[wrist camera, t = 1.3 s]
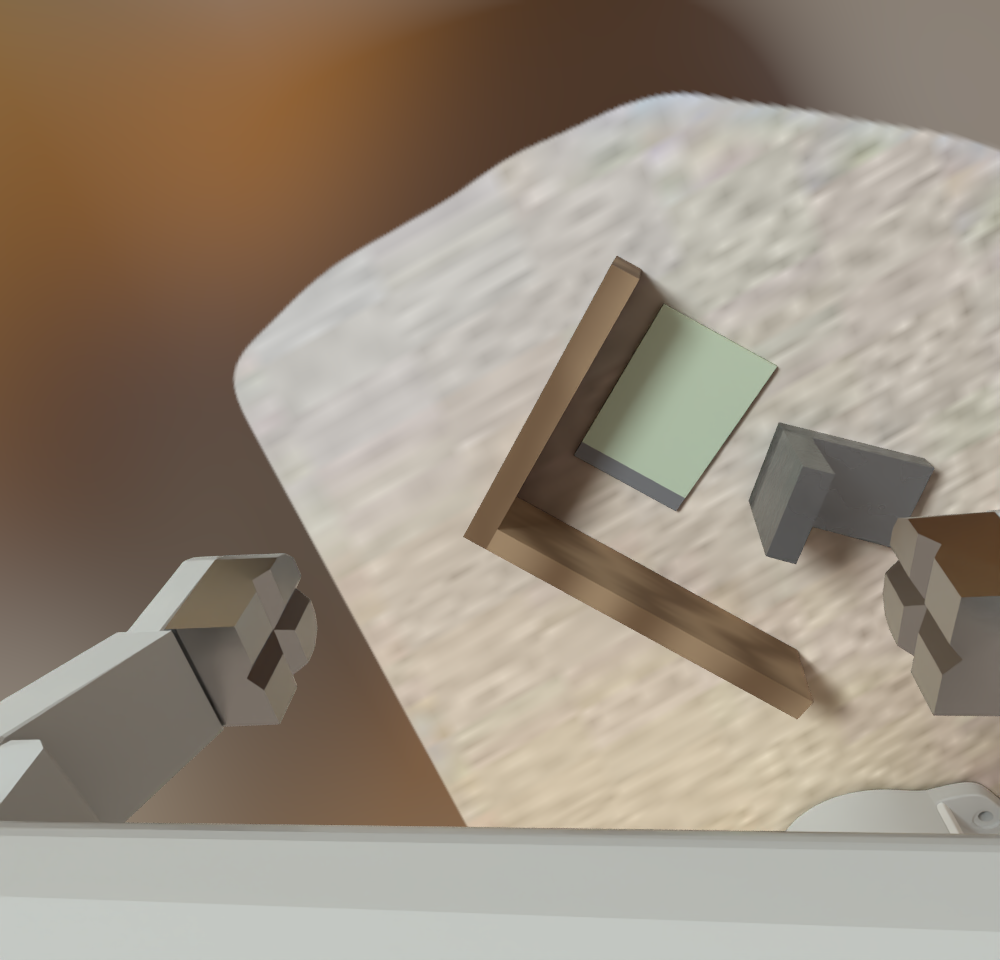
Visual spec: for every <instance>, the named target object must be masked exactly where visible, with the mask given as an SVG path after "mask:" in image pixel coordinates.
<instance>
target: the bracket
mask: <svg viewBox="0 0 1000 960" xmlns="http://www.w3.org/2000/svg"><path fill="white" fill-rule="evenodd" d="M933 470H934V467H933V466H932V465H931V464H930V463H929V462H928V461H927V460H926V459H924V458H920V457H916V456H912V455H908V454H904V453H900V452H896V451H892V450H888V449H884V448H880V447H876V446H872V445H868V444H864V443H860V442H856V441H852V440H848V439H844V438H840V437H836V436H832V435H828V434H824V433H820V432H816V431H812V430H808V429H804V428H800V427H796V426H792V425H787V424H783V423H778V426H777V429H776V431H775V434H774V436H773V439H772V442H771V444H770V447H769V449H768V452H767V455H766V457H765V460H764V462H763V465H762V468H761V470H760V473H759V475H758V478H757V480H756V483H755V486H754V488H753V491H752V493H751V496H750V499H749V503H750V506H751V510H752V513H753V516H754V519H755V522H756V526H757V529H758V532H759V535H760V539H761V542H762V545H763V548H764V552H765V555H766V556H768V557H771V558H775V559H779V560H782V561H786V562H790V563H794V564H796V563H797V561H798V558H799V556H800V554H801V552H802V549H803V547H804V545H805V542H806V540H807V538H808V535H809V533H810V531H811V529H812V527H815V528H819V529H823V530H827V531H830V532H834V533H838V534H842V535H846V536H849V537H853V538H857V539H861V540H865V541H868V542H872V543H876V544H880V545H884V546H887V547H891V546H890V541H891V536H892V530H893V527H894V525H895V523H896V521H897V519H898V518H906V517H910V516H911V514H912V512H913V510H914V508H915V506H916V504H917V502H918V500H919V498H920V496H921V494H922V492H923V490H924V488H925V486H926V484H927V482H928V480H929V478H930V476H931V474H932V472H933Z"/></svg>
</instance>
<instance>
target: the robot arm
mask: <svg viewBox="0 0 1000 960" xmlns="http://www.w3.org/2000/svg"><path fill="white" fill-rule="evenodd" d="M890 546H891V548H892V549H893V551H894V553H895V554H896V556H897V558H898V561H897V562H896V563H895V564H894V565H893V566H892V567H891V568H890V569H889V570H888V571H887V572H886V573H885V580H884V588H883V601H884V611H885V616H886V620H887V623H888V626H889V630H890V632H891V634H892V636H893V638H894V640H895V642H896V644H897V645H898V646H899V647H901V648H902V649H904V650H905V651H907V652H909V653H910V654H912V655H913V656H914V659H913V664H912V669H911V673H912V675H913V677H914V679H915V681H916V683H917V685H918V687H919V689H920V691H921V693H922V694H923V696H924V698H925V700H926V702H927V704H928V706H929V708H930V710H931V712H932V714H933V715H943V716H1000V510H991V511H987V512H981V513H966V514H951V515H936V516H921V517H906V518H898V519H897V521H896V523H895V525H894V527H893V530H892V536H891V541H890ZM300 578H301V574H300V571H299V569H298V567H297V565H296V562H295V560H294V558H293V557H291V556H289V555H287V554H284V553H283V554H257V555H230V556H229V555H228V556H223V557H222V556H210V557H194V558H191V559H188V560H186V561H184V562H183V563H182V564H181V566H180V567H179V568H178V569H177V571H176V572H175V573H174V574H173V576H172V577H171V578H170V579H169V581H168V582H167V583H166V584H165V586H164V587H163V588H162V589H161V591H160V592H159V593H158V594H157V596H156V597H155V598H154V599H153V601H152V602H151V603H150V604H149V605H148V607H147V608H146V609H145V610H144V612H143V613H142V614H141V615H140V617H139V618H138V619H137V620H136V622H135V623H134V624H133V625H132V627H131V628H130V629H129V630H128V632H120V633H116V634H114V635H112V636H111V637H109V638H107V639H106V640H104V641H102V642H100V643H99V644H97V645H96V646H94V647H92V648H90V649H89V650H87V651H85V652H84V653H82V654H80V655H79V656H77V657H75V658H73V659H72V660H70V661H68V662H67V663H65V664H63V665H62V666H60V667H58V668H57V669H55V670H53V671H51V672H50V673H48V674H46V675H45V676H43V677H41V678H40V679H38V680H37V681H35V682H33V683H31V684H29V685H28V686H26V687H24V688H23V689H21V690H19V691H18V692H16V693H14V694H13V695H11V696H9V697H8V698H6V699H4V700H2V701H1V702H0V960H1000V799H999V798H998V797H997V796H995V795H994V794H993V793H992V792H990V791H989V790H988V789H987V788H985V787H984V786H982V785H980V784H977V783H973V782H962V783H955V784H950V785H945V786H941V787H937V788H933V789H929V790H920V791H910V790H890V789H881V790H867V791H860V792H854V793H849V794H845V795H841V796H838V797H835V798H832V799H829V800H827V801H824V802H822V803H820V804H818V805H816V806H814V807H813V808H811V809H809V810H808V811H806V812H805V813H803V814H802V815H801V816H800V817H798V818H797V819H796V820H795V821H794V822H793V823H792V824H791V825H790V827H789V828H788V829H787V830H786V831H728V830H653V829H578V828H503V827H427V826H422V827H420V826H349V825H348V826H347V825H346V826H345V825H271V824H269V825H268V824H267V825H266V824H193V823H187V824H186V823H125V822H126V821H127V820H128V819H129V818H130V817H131V816H132V815H133V814H134V813H135V812H136V811H137V810H138V809H139V808H141V807H142V806H143V805H144V804H145V803H146V802H147V801H148V800H149V799H150V798H151V797H152V796H153V795H154V794H155V793H157V792H158V791H159V790H160V789H161V788H162V787H163V786H164V785H165V784H166V783H167V782H168V781H169V780H170V779H171V778H173V777H174V776H175V775H176V774H177V773H178V772H179V771H180V770H181V769H182V768H183V767H184V766H185V765H186V764H187V763H189V761H191V760H192V759H193V758H194V757H195V756H196V755H197V754H198V753H199V752H200V751H201V750H202V749H203V748H204V747H206V746H207V745H208V744H209V743H210V742H211V741H212V740H213V739H214V738H215V737H216V736H217V735H218V734H219V733H221V732H222V731H223V727H226V726H249V725H271V724H280V723H281V720H282V718H283V716H284V714H285V712H286V710H287V708H288V705H289V703H290V701H291V699H292V697H293V695H294V693H295V690H296V688H297V685H296V683H295V680H294V677H293V674H294V673H296V672H297V671H298V670H300V669H301V668H302V667H303V666H305V665H306V664H307V663H308V662H309V660H310V657H311V655H312V653H313V650H314V648H315V642H316V634H317V623H316V616H315V611H314V608H313V605H312V603H311V600H310V599H309V598H308V597H306V596H305V595H304V594H303V593H301V592H300V591H299V590H298V589H296V587H297V585H298V582H299V580H300ZM983 811H985V812H983Z"/></svg>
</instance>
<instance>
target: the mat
mask: <svg viewBox="0 0 1000 960" xmlns="http://www.w3.org/2000/svg"><path fill="white" fill-rule="evenodd" d="M776 367H777V366H776V365H775V364H773V363H771V362H769V361H767V360H766V359H764V358H762V357H760V356H758V355H756V354H755V353H753V352H751V351H749V350H747V349H745V348H744V347H742V346H740V345H738V344H736V343H735V342H733V341H731V340H729V339H727V338H725V337H724V336H722V335H720V334H718V333H716V332H714V331H713V330H711V329H709V328H707V327H705V326H704V325H702V324H700V323H698V322H696V321H694V320H693V319H691V318H689V317H687V316H685V315H683V314H682V313H680V312H678V311H676V310H674V309H673V308H671V307H669V306H667V305H665V304H663V306H662V307H661V309H660V311H659V312H658V314H657V316H656V318H655V319H654V321H653V323H652V324H651V326H650V328H649V329H648V331H647V333H646V334H645V336H644V338H643V339H642V341H641V343H640V345H639V346H638V348H637V350H636V351H635V353H634V355H633V356H632V358H631V360H630V361H629V363H628V365H627V366H626V368H625V370H624V371H623V373H622V375H621V377H620V378H619V380H618V382H617V383H616V385H615V387H614V388H613V390H612V392H611V393H610V395H609V397H608V398H607V400H606V402H605V403H604V405H603V407H602V409H601V410H600V412H599V414H598V415H597V417H596V419H595V420H594V422H593V424H592V425H591V427H590V429H589V430H588V432H587V434H586V435H585V437H584V439H583V441H582V442H581V444H580V446H579V447H578V449H577V451H576V452H575V454H574V456H576V457H578V458H580V459H581V460H583V461H585V462H587V463H589V464H591V465H592V466H594V467H596V468H598V469H600V470H602V471H603V472H605V473H607V474H609V475H611V476H613V477H614V478H616V479H618V480H620V481H622V482H623V483H625V484H627V485H629V486H631V487H633V488H634V489H636V490H638V491H640V492H642V493H644V494H645V495H647V496H649V497H651V498H653V499H655V500H656V501H658V502H660V503H662V504H664V505H666V506H667V507H669V508H671V509H673V510H675V511H676V510H677V509H678V508H679V506H680V505H681V503H682V502H683V500H684V499H685V498H686V496H687V495H688V493H689V492H690V490H691V489H692V488H693V486H694V485H695V483H696V482H697V480H698V479H699V477H700V476H701V475H702V473H703V472H704V470H705V469H706V467H707V466H708V465H709V463H710V462H711V460H712V459H713V457H714V456H715V455H716V453H717V452H718V450H719V449H720V447H721V446H722V445H723V443H724V442H725V440H726V439H727V437H728V436H729V435H730V433H731V432H732V430H733V429H734V427H735V426H736V425H737V423H738V422H739V420H740V419H741V417H742V416H743V415H744V413H745V412H746V410H747V409H748V407H749V406H750V405H751V403H752V402H753V400H754V399H755V397H756V396H757V395H758V393H759V392H760V390H761V389H762V387H763V386H764V384H765V383H766V382H767V380H768V379H769V377H770V376H771V374H772V373H773V372H774V370H775V369H776Z"/></svg>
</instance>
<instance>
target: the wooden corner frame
mask: <svg viewBox="0 0 1000 960" xmlns="http://www.w3.org/2000/svg"><path fill="white" fill-rule="evenodd" d="M640 273H641V269H640V268H638V267H636V266H635V265H633V264H631V263H629V262H627V261H625V260H624V259H622V258H620V257H618V256H616V258H615V260H614V261H613V263H612V265H611V266H610V268H609V270H608V272H607V274H606V276H605V277H604V279H603V281H602V283H601V285H600V287H599V288H598V290H597V292H596V294H595V296H594V298H593V299H592V301H591V303H590V305H589V307H588V309H587V311H586V312H585V314H584V316H583V318H582V320H581V322H580V323H579V325H578V327H577V329H576V331H575V333H574V334H573V336H572V338H571V340H570V342H569V344H568V345H567V347H566V349H565V351H564V353H563V355H562V356H561V358H560V360H559V362H558V364H557V366H556V367H555V369H554V371H553V373H552V375H551V377H550V378H549V380H548V382H547V384H546V386H545V388H544V389H543V391H542V393H541V395H540V397H539V399H538V401H537V402H536V404H535V406H534V408H533V410H532V412H531V413H530V415H529V417H528V419H527V421H526V423H525V424H524V426H523V428H522V430H521V432H520V434H519V435H518V437H517V439H516V441H515V443H514V445H513V446H512V448H511V450H510V452H509V454H508V456H507V457H506V459H505V461H504V463H503V465H502V467H501V468H500V470H499V472H498V474H497V476H496V478H495V479H494V481H493V483H492V485H491V487H490V489H489V491H488V492H487V494H486V496H485V498H484V500H483V502H482V503H481V505H480V507H479V509H478V511H477V513H476V514H475V516H474V518H473V520H472V522H471V524H470V525H469V527H468V529H467V531H466V533H465V535H464V536H463V537H465V538H466V539H468V540H470V541H472V542H474V543H475V544H477V545H479V546H481V547H483V548H485V549H486V550H488V551H490V552H492V553H494V554H496V555H497V556H499V557H501V558H503V559H505V560H507V561H508V562H510V563H512V564H514V565H516V566H518V567H519V568H521V569H523V570H525V571H527V572H529V573H530V574H532V575H534V576H536V577H538V578H540V579H541V580H543V581H545V582H547V583H549V584H551V585H552V586H554V587H556V588H558V589H560V590H562V591H563V592H565V593H567V594H569V595H571V596H572V597H574V598H576V599H578V600H580V601H582V602H583V603H585V604H587V605H589V606H591V607H593V608H594V609H596V610H598V611H600V612H602V613H604V614H605V615H607V616H609V617H611V618H613V619H615V620H616V621H618V622H620V623H622V624H624V625H626V626H627V627H629V628H631V629H633V630H635V631H637V632H638V633H640V634H642V635H644V636H646V637H648V638H649V639H651V640H653V641H655V642H657V643H659V644H660V645H662V646H664V647H666V648H668V649H669V650H671V651H673V652H675V653H677V654H679V655H680V656H682V657H684V658H686V659H688V660H690V661H691V662H693V663H695V664H697V665H699V666H701V667H702V668H704V669H706V670H708V671H710V672H712V673H713V674H715V675H717V676H719V677H721V678H723V679H724V680H726V681H728V682H730V683H732V684H734V685H735V686H737V687H739V688H741V689H743V690H745V691H746V692H748V693H750V694H752V695H754V696H756V697H757V698H759V699H761V700H763V701H765V702H766V703H768V704H770V705H772V706H774V707H776V708H777V709H779V710H781V711H783V712H785V713H787V714H788V715H790V716H792V717H794V718H796V719H798V718H799V717H800V716H801V715H802V714H803V713H804V712H805V711H806V710H807V709H808V708H809V706H810V705H811V704H812V703H813V699H812V696H811V693H810V689H809V686H808V683H807V680H806V677H805V673H804V670H803V667H802V664H801V661H800V658H799V654H798V651H797V650H796V649H794V648H792V647H791V646H789V645H787V644H785V643H783V642H781V641H780V640H778V639H776V638H774V637H772V636H770V635H769V634H767V633H765V632H763V631H761V630H759V629H758V628H756V627H754V626H752V625H750V624H748V623H747V622H745V621H743V620H741V619H739V618H737V617H736V616H734V615H732V614H730V613H728V612H726V611H725V610H723V609H721V608H719V607H717V606H716V605H714V604H712V603H710V602H708V601H706V600H705V599H703V598H701V597H699V596H697V595H695V594H694V593H692V592H690V591H688V590H686V589H684V588H683V587H681V586H679V585H677V584H675V583H673V582H672V581H670V580H668V579H666V578H664V577H662V576H661V575H659V574H657V573H655V572H653V571H652V570H650V569H648V568H646V567H644V566H642V565H641V564H639V563H637V562H635V561H633V560H631V559H630V558H628V557H626V556H624V555H622V554H620V553H619V552H617V551H615V550H613V549H611V548H609V547H608V546H606V545H604V544H602V543H600V542H598V541H597V540H595V539H593V538H591V537H589V536H587V535H586V534H584V533H582V532H580V531H578V530H577V529H575V528H573V527H571V526H569V525H567V524H566V523H564V522H562V521H560V520H558V519H556V518H555V517H553V516H551V515H549V514H547V513H545V512H544V511H542V510H540V509H538V508H536V507H534V506H533V505H531V504H529V503H527V502H525V501H523V500H522V499H520V498H518V497H516V496H517V494H518V492H519V491H520V489H521V487H522V485H523V483H524V482H525V480H526V478H527V476H528V475H529V473H530V471H531V469H532V468H533V466H534V464H535V462H536V461H537V459H538V457H539V455H540V454H541V452H542V450H543V448H544V447H545V445H546V443H547V441H548V439H549V438H550V436H551V434H552V432H553V431H554V429H555V427H556V425H557V424H558V422H559V420H560V418H561V417H562V415H563V413H564V411H565V410H566V408H567V406H568V404H569V402H570V401H571V399H572V397H573V395H574V394H575V392H576V390H577V388H578V387H579V385H580V383H581V381H582V380H583V378H584V376H585V374H586V373H587V371H588V369H589V367H590V366H591V364H592V362H593V360H594V358H595V357H596V355H597V353H598V351H599V350H600V348H601V346H602V344H603V343H604V341H605V339H606V337H607V336H608V334H609V332H610V330H611V329H612V327H613V325H614V323H615V322H616V320H617V318H618V316H619V314H620V313H621V311H622V309H623V307H624V306H625V304H626V302H627V300H628V299H629V297H630V295H631V293H632V292H633V290H634V288H635V286H636V285H637V283H638V281H639V279H640Z"/></svg>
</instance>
